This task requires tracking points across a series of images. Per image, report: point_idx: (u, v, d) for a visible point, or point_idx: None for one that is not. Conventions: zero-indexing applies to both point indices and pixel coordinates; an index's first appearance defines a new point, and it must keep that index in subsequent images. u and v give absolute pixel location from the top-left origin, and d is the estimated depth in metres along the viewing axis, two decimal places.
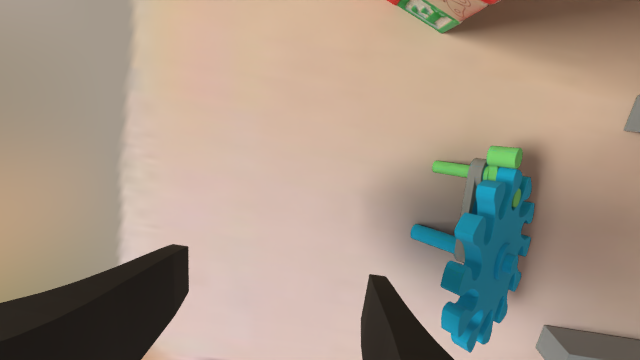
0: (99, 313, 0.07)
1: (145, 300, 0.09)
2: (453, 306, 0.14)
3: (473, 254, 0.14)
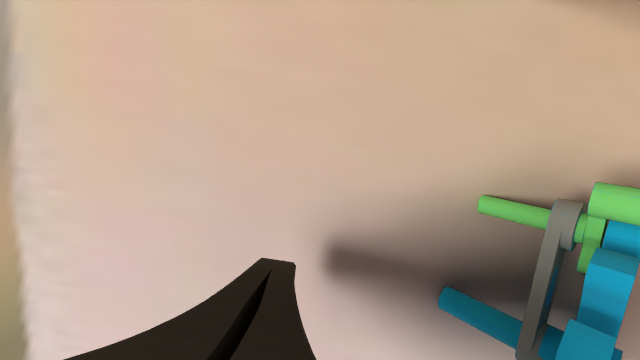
0: (234, 335, 0.07)
1: None
2: None
3: None
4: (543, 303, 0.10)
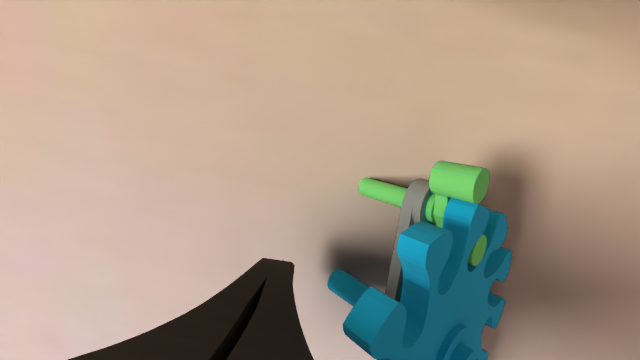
0: (236, 336, 0.07)
1: None
2: None
3: None
4: (399, 281, 0.10)
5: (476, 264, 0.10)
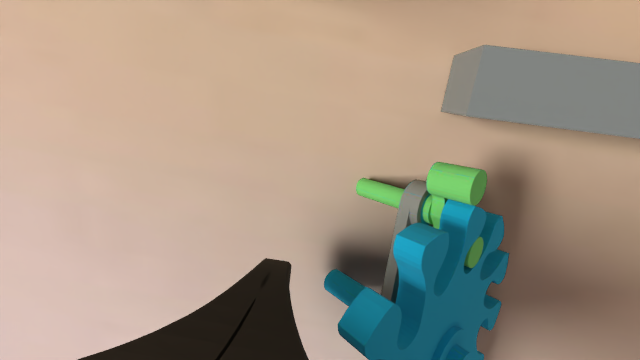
0: None
1: None
2: None
3: None
4: (396, 282, 0.10)
5: (472, 266, 0.10)
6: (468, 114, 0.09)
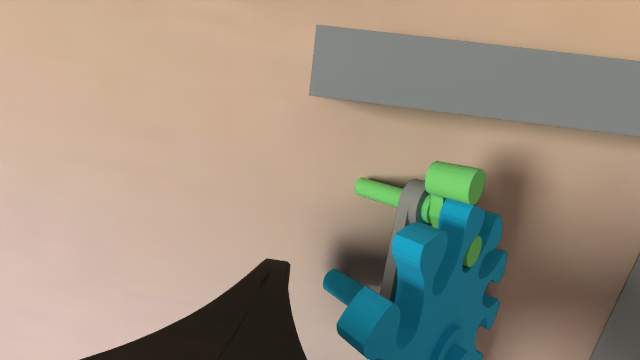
0: None
1: None
2: None
3: None
4: (394, 281, 0.10)
5: (471, 265, 0.10)
6: (311, 93, 0.09)
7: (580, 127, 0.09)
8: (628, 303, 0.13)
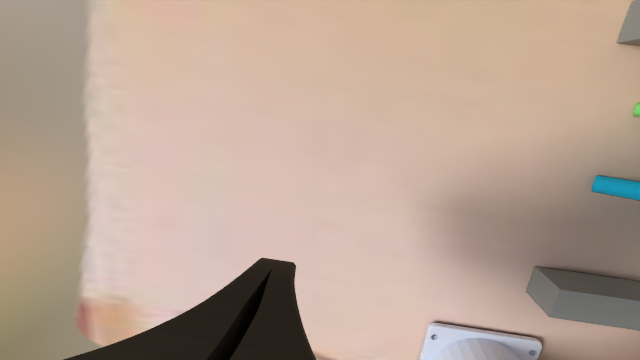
0: (234, 335, 0.07)
1: None
2: None
3: None
4: None
5: None
6: None
7: None
8: None
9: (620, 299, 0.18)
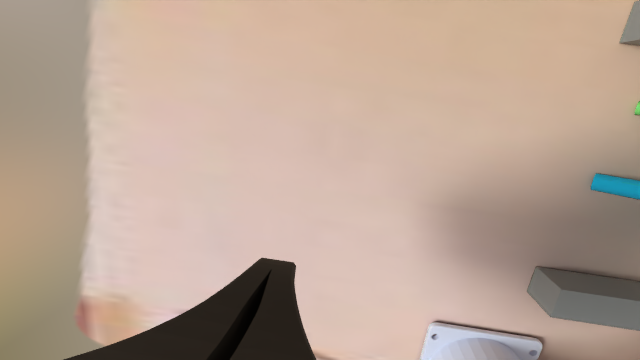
0: (234, 335, 0.07)
1: None
2: None
3: None
4: None
5: None
6: None
7: None
8: None
9: (621, 299, 0.18)
